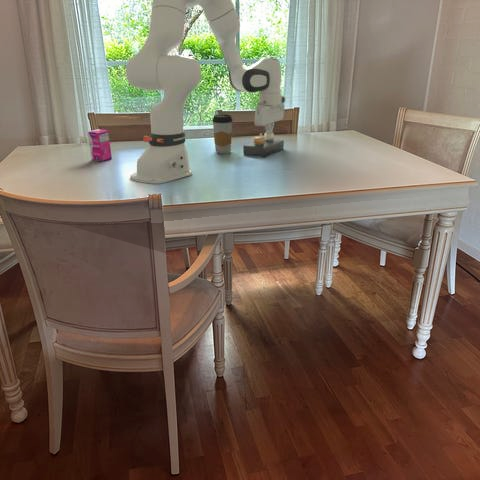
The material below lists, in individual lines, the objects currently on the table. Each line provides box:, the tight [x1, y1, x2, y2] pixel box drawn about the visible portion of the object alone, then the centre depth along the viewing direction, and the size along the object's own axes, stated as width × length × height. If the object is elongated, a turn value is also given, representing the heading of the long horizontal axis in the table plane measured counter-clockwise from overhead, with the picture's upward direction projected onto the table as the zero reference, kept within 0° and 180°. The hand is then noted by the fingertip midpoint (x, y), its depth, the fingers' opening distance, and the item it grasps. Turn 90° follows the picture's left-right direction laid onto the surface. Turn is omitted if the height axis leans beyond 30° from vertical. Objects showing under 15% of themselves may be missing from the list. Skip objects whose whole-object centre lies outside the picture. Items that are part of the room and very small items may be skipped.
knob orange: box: [253, 136, 264, 146], centre depth 184 cm, size 4×4×7 cm
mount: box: [242, 138, 285, 159], centre depth 188 cm, size 17×10×4 cm, turn 149°
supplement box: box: [87, 128, 113, 163], centre depth 176 cm, size 6×6×12 cm
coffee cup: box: [211, 113, 234, 155], centre depth 186 cm, size 8×8×15 cm
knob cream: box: [263, 132, 275, 142], centre depth 191 cm, size 4×4×7 cm
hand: (269, 133), depth 190 cm, fingers closed, pressing on knob cream
